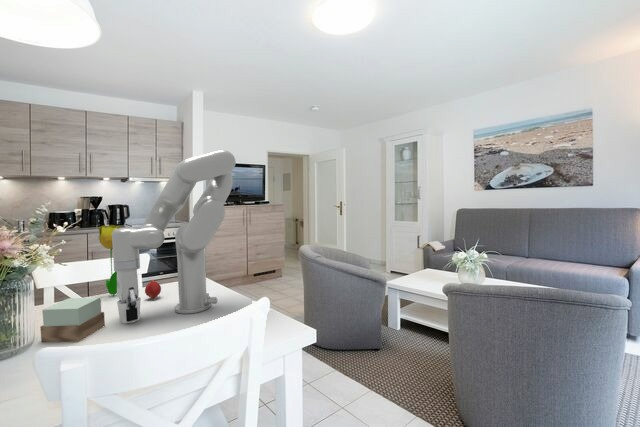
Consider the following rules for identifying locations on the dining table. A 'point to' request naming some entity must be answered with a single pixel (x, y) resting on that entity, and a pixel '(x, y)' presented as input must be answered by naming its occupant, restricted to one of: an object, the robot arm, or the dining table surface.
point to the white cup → (122, 310)
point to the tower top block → (71, 312)
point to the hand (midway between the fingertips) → (129, 316)
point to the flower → (106, 241)
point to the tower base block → (72, 330)
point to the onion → (153, 289)
